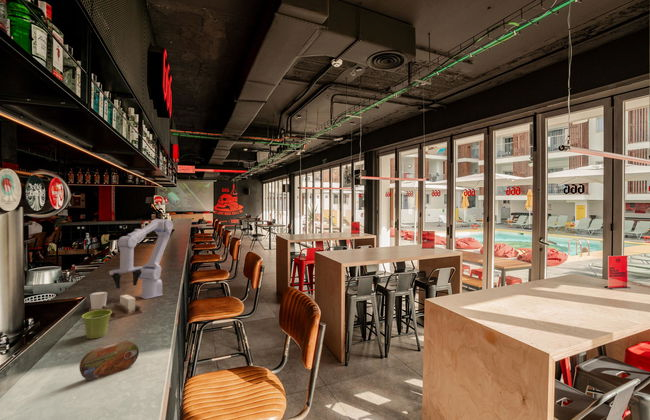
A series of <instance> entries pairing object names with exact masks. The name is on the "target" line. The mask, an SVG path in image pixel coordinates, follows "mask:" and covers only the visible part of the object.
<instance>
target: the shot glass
mask: <svg viewBox="0 0 650 420" xmlns="http://www.w3.org/2000/svg"><path fill="white" fill-rule="evenodd" d="M89 297H90V298H89V299H90V309H93V310H102V306H106V307H107V299H108V298H107V297H108V292H107V291H98V292H97V291H96V292H92V293H90V294H89Z"/></svg>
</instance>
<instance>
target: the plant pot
mask: <svg viewBox="0 0 650 420" xmlns="http://www.w3.org/2000/svg"><path fill="white" fill-rule="evenodd" d="M111 313H112V311H111V310H102V309H96V310H95V311H91V312H89V311H88V312H86V313H83V314H82V315H81V318H82V321H83V322H84V326H85V328H84V329H85V334H86V338H87V339H90V340H93V339H99V338H102V337H104V336H106V334H107V331H108V327H109V326H108V325H109V322H110V321H109V317H110V314H111Z"/></svg>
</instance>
